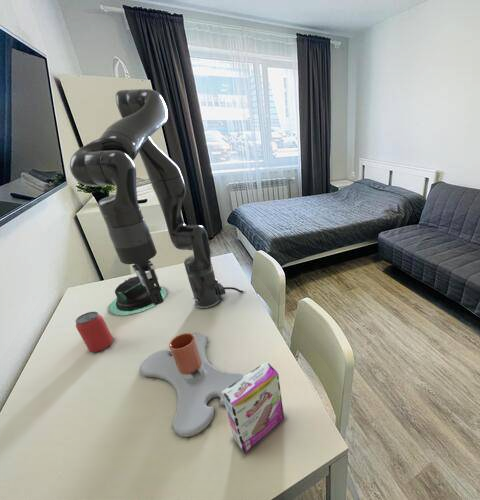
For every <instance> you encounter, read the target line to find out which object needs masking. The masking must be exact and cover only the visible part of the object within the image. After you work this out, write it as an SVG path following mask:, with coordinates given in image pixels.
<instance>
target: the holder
mask: <svg viewBox="0 0 480 500" xmlns="http://www.w3.org/2000/svg"><path fill="white" fill-rule="evenodd" d="M192 334H193V335H194V337H195V340H196V343H197V346H198V349H199V352H200V355H201V358H202V364H201V366H200V367H199V369H197V370H196V371H195V372H193V373H190V374H181V373H180V372H179V371H178V368H177V365H176V363H175V360H174V358H173V355H172V352H171V350H168V349H165V350H164V349H163V350H159V351H156V352H153V353H151V354H150V355H148V356H147V357H146V358H145V359H143V361H142V362H141V363H140V366H139V371H140V374H141V375H142V376H143V377H145V378H156V379H162V380H164V381H166V382H168V383H169V384H171V386H172V387H173V388H174V389H175V391H176V394H177V395H176V396H177V408H176V411H175V415H174V418H173V420H172V427H173V430H174V432H175V433H176V434H177V436H179V437H183V438H188V437H192V436H196V435H197V434H199V433H201V432H202V431H204V430H205V429H206V428H207V427H208V426H209V425H210V423H211V422H212V420H213V418H214V415H215V407H214V406H208V403H209V401H211V400H213V399H214V398H220V400H219V402H218V403H219V406H224V407H225V403H224V399H223V396H222V391H223V390H225V389H226V388H228V387H229V386H231V385H232V384H234V383H235V382H237V381H238V380H240V379H241V378H242V377H244V376H245V375H244V374H243V373H239V372H227V371H223V370H221V369H218V368H216V367H215V366H213V365H212V364H211V363H210V362H209V361H208V360H207V356H206V346H207V343H208V340H207V336H206V335H205V334H203V333H201V332H195V333H194V332H193V333H192ZM171 355H172V356H171Z"/></svg>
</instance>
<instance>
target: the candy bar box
mask: <svg viewBox="0 0 480 500" xmlns="http://www.w3.org/2000/svg"><path fill="white" fill-rule="evenodd" d="M222 396H223V399H224V403H225V406H224V407H225V410H226V414H227V417H228V421H229V425H230V429H231V432H232V435H233V439H234V441H235V442H236V443H237V445H238V447H239V448H240V450H241V451H242V452H243V454H246V453H247V452H248V451H249V450H251V449H252V448H253V447H254V446H255V445H256V444H257V443H259V442H260V441H261V440H262V439H263V438H264V437H265V436H267V434H269V433H270V432H271V431H272V430H273V429H274V428H275V427H276V426H278V424H280V423H281V422H282V421H283V420H284V419H285V414H284V408H283V407H284V406H283V399H282V392H281V385H280V376H279V372H278V371H277V370H276V369H275V368H274V367H273V366H272V365H271V364H270V362H268V361H264V362H263V363H261V364H260V365H259V366H257V367H256V368H254V369H253V370H251V371H249V372H248V373H247V374H245V375H244V377H242V378H241V379H240V380H238V381H237V382H235V383H234V384H232V385H231V386H229V387H228V388H226V389H225V390H223V391H222Z"/></svg>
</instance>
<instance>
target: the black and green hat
mask: <svg viewBox="0 0 480 500" xmlns="http://www.w3.org/2000/svg"><path fill="white" fill-rule="evenodd" d="M142 279H143V278H142ZM160 287H161V291H160V292H161V295H162V297H163V299H165V298H166V295H167V290H166V289H165V288H163V287H162V286H160ZM114 294H115V296H116V298H115V299H114V300H113V301H112V302H111V303H110V306H109V312H110V313H111V314H113V315H116V316H128V315H133V314H139V313H141V312H144V311H147V310H148V309H151V308H153V307H155V306H156V305H154V304H153V302H152V299H151V297H150V294H149V293H148V292H147V291H146V289H145V287H144V286H143V285H142V283H141V281H140V279H139V276H137V275H136V276H133V277H128V279H125V280H124V281H123V282H121V283H120V284H118V285H117V286H116V288H115V290H114Z"/></svg>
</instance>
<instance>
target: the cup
mask: <svg viewBox="0 0 480 500" xmlns="http://www.w3.org/2000/svg"><path fill="white" fill-rule="evenodd" d="M168 347H169V351H171V355H172V356H173V358H174V360H175V363H176V365H177V368H178V371H179V372H180V373H181V374H190V373H193V372H195V371H196V370H197V369H199V367H200V366H201V364H202V358H201V355H200V352H199V349H198V346H197V343H196V340H195V337H194V335H193V333H191V332H185V333H181V334H179V335H176V336H175V337H173V338H172V339H171V340H170V342H169V344H168Z"/></svg>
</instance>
